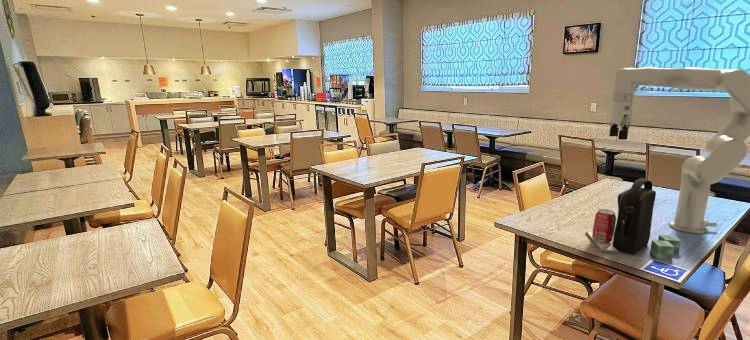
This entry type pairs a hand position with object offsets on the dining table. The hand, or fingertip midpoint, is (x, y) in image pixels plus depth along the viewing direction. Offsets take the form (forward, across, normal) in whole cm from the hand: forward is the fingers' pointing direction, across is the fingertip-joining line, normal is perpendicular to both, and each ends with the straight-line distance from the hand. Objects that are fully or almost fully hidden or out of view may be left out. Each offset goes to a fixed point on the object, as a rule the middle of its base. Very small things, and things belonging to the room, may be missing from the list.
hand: (617, 137), depth 166 cm
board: (+38, -28, +12) cm, 49 cm away
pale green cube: (+38, -30, -11) cm, 50 cm away
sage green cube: (+38, -36, -6) cm, 53 cm away
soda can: (+37, -27, +12) cm, 48 cm away
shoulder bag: (+39, -30, +2) cm, 49 cm away
